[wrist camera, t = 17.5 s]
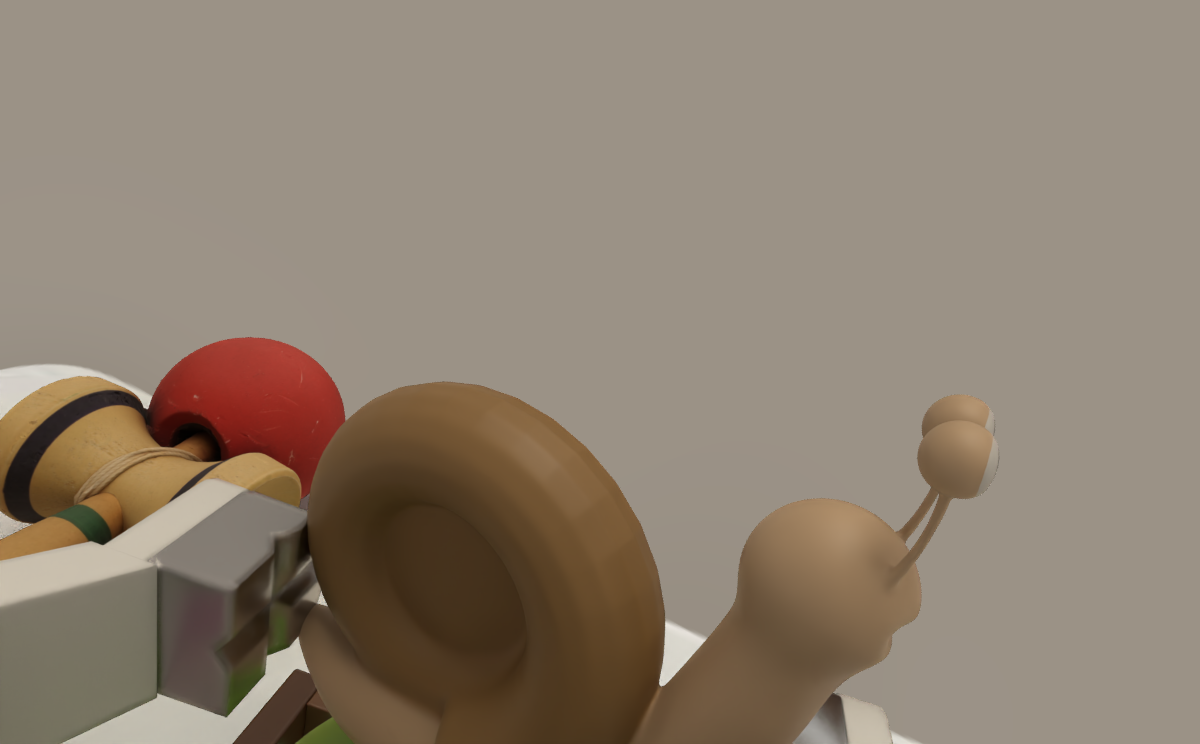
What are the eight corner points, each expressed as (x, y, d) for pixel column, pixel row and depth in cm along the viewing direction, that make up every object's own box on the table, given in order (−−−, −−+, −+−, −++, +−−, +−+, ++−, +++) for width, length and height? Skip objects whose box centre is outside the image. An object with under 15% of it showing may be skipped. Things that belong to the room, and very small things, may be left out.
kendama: (-150, 1089, 12) (411, 470, 27) (-396, 874, 9) (391, 316, 24) (-438, 929, 14) (240, 436, 29) (-721, 707, 11) (202, 289, 26)
